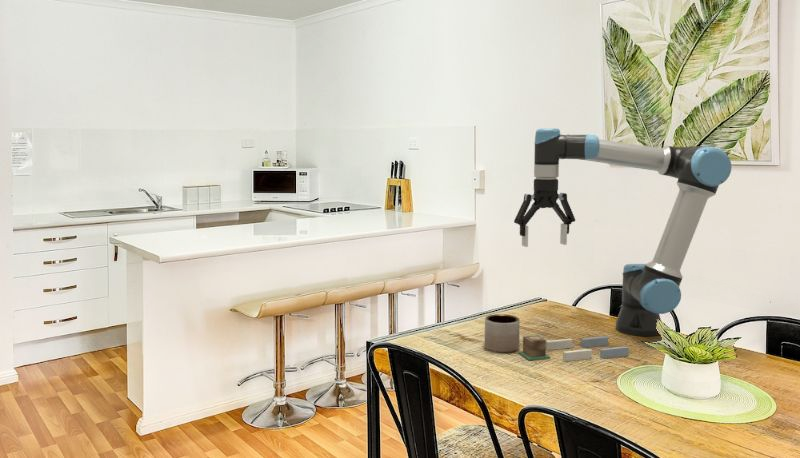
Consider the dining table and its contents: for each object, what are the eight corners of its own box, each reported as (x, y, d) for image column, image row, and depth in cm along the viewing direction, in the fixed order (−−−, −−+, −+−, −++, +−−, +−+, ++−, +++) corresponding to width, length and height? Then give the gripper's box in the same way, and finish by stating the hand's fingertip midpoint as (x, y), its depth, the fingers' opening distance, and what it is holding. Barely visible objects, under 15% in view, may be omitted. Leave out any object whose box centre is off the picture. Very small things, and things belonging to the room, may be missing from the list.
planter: (518, 354, 200) (519, 324, 199) (483, 352, 202) (483, 322, 201) (519, 343, 211) (520, 314, 209) (485, 341, 213) (486, 313, 211)
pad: (538, 351, 203) (538, 349, 203) (550, 358, 196) (550, 356, 196) (518, 353, 201) (518, 351, 201) (528, 360, 194) (528, 358, 194)
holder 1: (570, 346, 208) (571, 338, 207) (591, 358, 196) (592, 350, 196) (545, 349, 205) (545, 341, 205) (564, 361, 194) (565, 352, 193)
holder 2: (605, 344, 210) (606, 336, 210) (628, 355, 199) (628, 347, 198) (580, 346, 207) (581, 338, 207) (602, 358, 196) (602, 350, 196)
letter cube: (537, 350, 202) (538, 334, 201) (545, 356, 197) (546, 339, 196) (522, 352, 200) (523, 336, 199) (530, 357, 195) (530, 341, 195)
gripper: (575, 176, 212) (572, 241, 215) (504, 178, 205) (503, 245, 208) (587, 178, 205) (585, 245, 208) (515, 179, 198) (513, 249, 201)
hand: (544, 245), depth 208 cm, fingers open, 13 cm apart
